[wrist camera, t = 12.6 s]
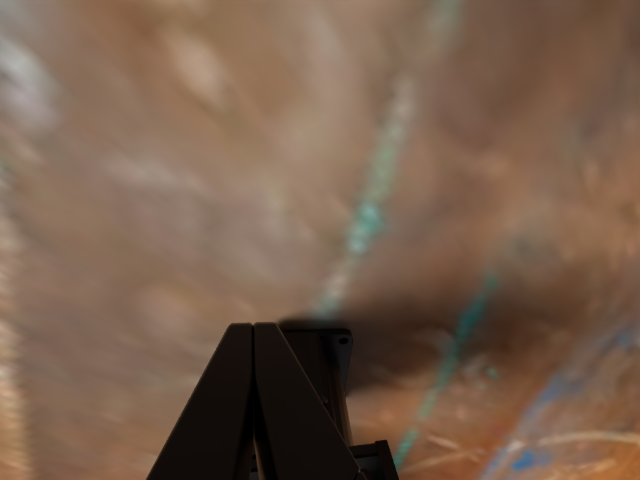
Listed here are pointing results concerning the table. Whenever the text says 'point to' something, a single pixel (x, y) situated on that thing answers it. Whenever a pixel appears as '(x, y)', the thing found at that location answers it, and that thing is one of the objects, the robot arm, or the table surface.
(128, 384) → the table surface
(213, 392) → the robot arm
